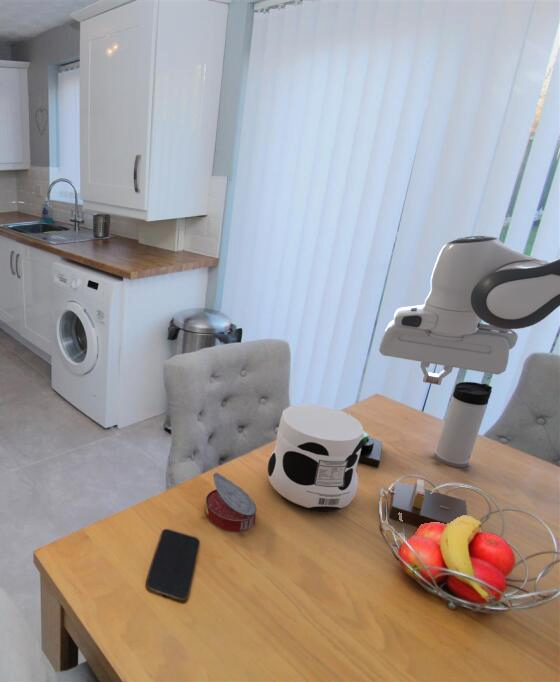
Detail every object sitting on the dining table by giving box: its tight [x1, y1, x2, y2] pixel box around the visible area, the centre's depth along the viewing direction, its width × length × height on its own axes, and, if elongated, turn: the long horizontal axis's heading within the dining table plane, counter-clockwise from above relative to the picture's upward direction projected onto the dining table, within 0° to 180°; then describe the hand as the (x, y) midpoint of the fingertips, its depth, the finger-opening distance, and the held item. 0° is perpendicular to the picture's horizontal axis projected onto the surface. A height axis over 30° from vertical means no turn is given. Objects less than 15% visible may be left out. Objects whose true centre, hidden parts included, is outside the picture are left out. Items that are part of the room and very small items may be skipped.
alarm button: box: [363, 430, 369, 443], centre depth 118 cm, size 4×4×2 cm
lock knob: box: [413, 478, 426, 509], centre depth 98 cm, size 6×1×3 cm, turn 144°
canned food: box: [204, 472, 257, 533], centre depth 100 cm, size 11×10×10 cm
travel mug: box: [433, 381, 493, 469], centre depth 112 cm, size 6×7×20 cm
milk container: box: [267, 403, 364, 512], centre depth 103 cm, size 17×17×18 cm
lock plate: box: [388, 480, 468, 528], centre depth 98 cm, size 13×10×3 cm
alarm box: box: [358, 434, 383, 469], centre depth 119 cm, size 10×10×4 cm
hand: (431, 382), depth 99 cm, fingers closed
